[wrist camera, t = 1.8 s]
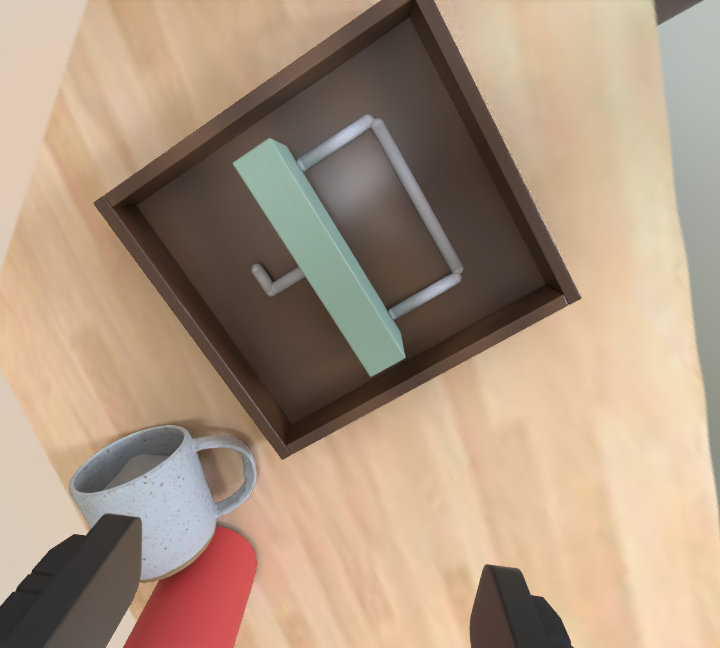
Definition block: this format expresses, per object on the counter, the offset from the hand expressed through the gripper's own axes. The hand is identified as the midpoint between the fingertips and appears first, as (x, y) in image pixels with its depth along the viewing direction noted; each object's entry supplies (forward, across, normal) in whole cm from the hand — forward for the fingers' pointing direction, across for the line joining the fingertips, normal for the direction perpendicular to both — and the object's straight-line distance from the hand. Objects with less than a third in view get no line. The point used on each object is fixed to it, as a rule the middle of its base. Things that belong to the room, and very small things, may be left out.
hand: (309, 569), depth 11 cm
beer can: (+23, +8, +22) cm, 32 cm away
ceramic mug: (+23, +11, +14) cm, 28 cm away
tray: (+22, +1, -5) cm, 23 cm away
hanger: (+22, +2, -4) cm, 22 cm away
